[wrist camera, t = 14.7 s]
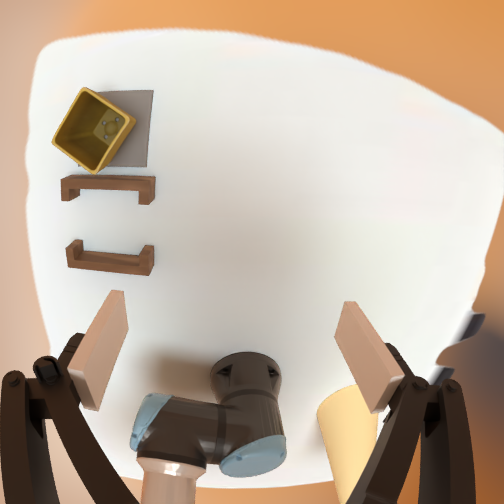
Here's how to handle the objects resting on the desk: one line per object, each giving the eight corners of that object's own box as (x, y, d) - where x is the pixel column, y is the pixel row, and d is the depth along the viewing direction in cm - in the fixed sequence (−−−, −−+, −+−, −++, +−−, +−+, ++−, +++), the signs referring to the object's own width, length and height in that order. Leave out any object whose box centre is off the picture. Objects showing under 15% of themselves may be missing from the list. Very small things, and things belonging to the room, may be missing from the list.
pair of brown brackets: (153, 264, 49) (148, 275, 45) (77, 257, 47) (68, 267, 43) (155, 176, 43) (149, 181, 39) (72, 174, 41) (60, 179, 38)
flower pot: (117, 167, 41) (94, 177, 33) (78, 138, 39) (49, 142, 30) (149, 120, 39) (131, 118, 31) (108, 91, 36) (82, 85, 28)
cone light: (338, 380, 65) (387, 505, 33) (391, 384, 68) (443, 486, 36) (295, 434, 73) (318, 539, 41) (345, 435, 77) (376, 526, 45)
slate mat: (146, 166, 42) (145, 167, 42) (79, 165, 41) (78, 166, 40) (153, 90, 38) (152, 90, 37) (84, 94, 36) (82, 93, 36)
